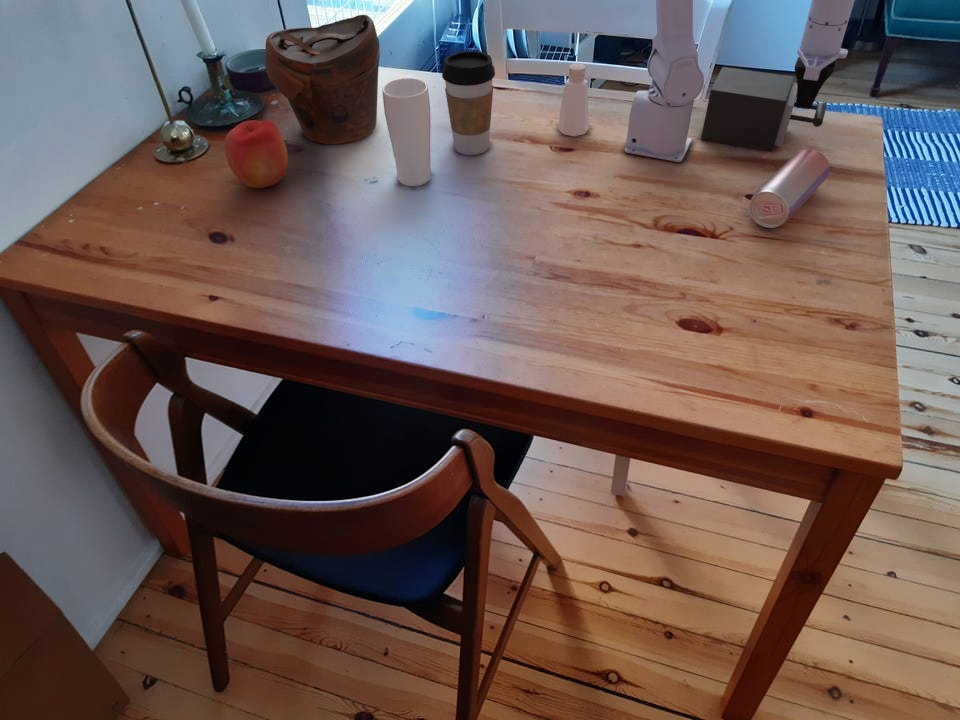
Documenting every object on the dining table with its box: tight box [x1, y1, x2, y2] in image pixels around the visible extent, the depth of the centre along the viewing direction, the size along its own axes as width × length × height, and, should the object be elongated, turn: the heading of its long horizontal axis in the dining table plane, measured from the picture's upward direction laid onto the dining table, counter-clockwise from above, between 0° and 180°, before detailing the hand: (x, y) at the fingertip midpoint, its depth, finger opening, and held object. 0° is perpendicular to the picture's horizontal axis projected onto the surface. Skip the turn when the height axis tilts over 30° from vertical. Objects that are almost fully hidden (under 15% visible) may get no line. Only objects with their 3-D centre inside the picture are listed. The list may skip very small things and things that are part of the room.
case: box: [264, 14, 381, 145], centre depth 120 cm, size 18×20×18 cm
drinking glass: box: [381, 77, 432, 187], centre depth 108 cm, size 7×7×15 cm
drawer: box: [774, 83, 827, 147], centre depth 117 cm, size 15×8×7 cm, turn 66°
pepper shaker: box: [557, 62, 590, 137], centre depth 120 cm, size 5×5×11 cm
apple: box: [224, 119, 289, 189], centre depth 111 cm, size 10×10×10 cm
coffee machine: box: [700, 66, 795, 152], centre depth 118 cm, size 12×10×9 cm
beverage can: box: [748, 148, 831, 229], centre depth 103 cm, size 6×6×15 cm
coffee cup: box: [441, 50, 496, 156], centre depth 115 cm, size 8×8×15 cm
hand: (803, 106), depth 115 cm, fingers closed, pressing on drawer
